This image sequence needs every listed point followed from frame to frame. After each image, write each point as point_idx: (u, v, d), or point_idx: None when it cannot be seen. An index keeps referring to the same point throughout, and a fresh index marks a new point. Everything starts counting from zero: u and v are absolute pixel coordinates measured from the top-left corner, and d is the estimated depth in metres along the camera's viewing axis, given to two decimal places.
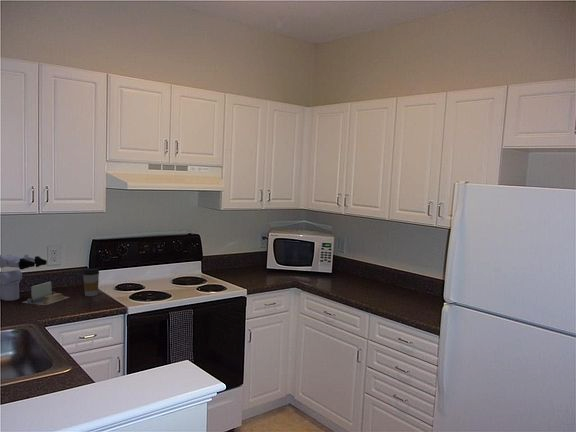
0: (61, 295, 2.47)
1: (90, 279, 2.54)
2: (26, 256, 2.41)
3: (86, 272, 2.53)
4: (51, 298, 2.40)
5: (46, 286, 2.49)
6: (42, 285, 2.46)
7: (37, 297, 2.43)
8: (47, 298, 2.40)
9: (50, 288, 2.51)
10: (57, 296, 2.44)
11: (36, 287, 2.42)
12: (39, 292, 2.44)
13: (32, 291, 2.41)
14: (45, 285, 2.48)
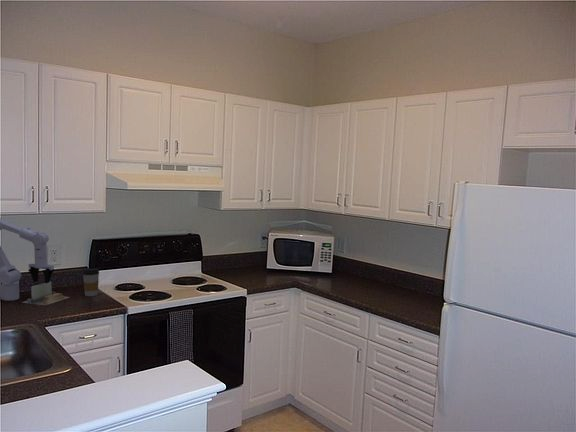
0: (61, 295, 2.47)
1: (90, 279, 2.54)
2: None
3: (86, 272, 2.53)
4: (51, 298, 2.40)
5: (46, 286, 2.49)
6: (42, 285, 2.46)
7: (37, 297, 2.43)
8: (47, 298, 2.40)
9: (50, 288, 2.51)
10: (57, 296, 2.44)
11: (36, 287, 2.42)
12: (39, 292, 2.44)
13: (32, 291, 2.41)
14: (45, 285, 2.48)
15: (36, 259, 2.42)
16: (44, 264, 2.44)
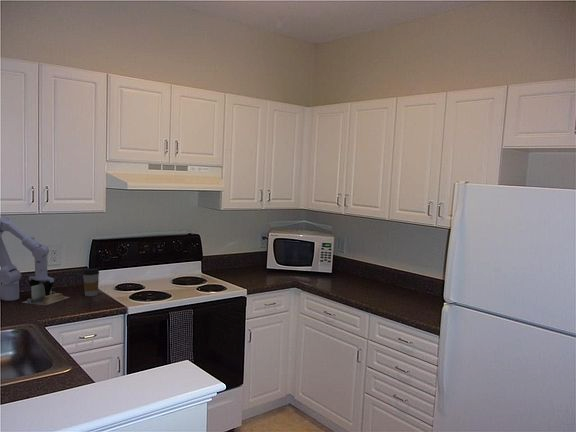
0: (61, 295, 2.47)
1: (90, 279, 2.54)
2: None
3: (86, 272, 2.53)
4: (51, 298, 2.40)
5: None
6: (42, 285, 2.46)
7: (37, 297, 2.43)
8: (47, 298, 2.40)
9: None
10: (57, 296, 2.44)
11: (36, 287, 2.42)
12: (39, 292, 2.44)
13: (32, 291, 2.41)
14: None
15: (36, 272, 2.43)
16: (44, 276, 2.44)
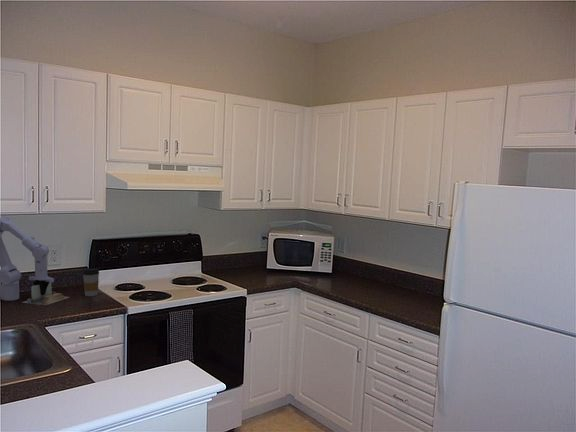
0: (61, 295, 2.47)
1: (90, 279, 2.54)
2: None
3: (86, 272, 2.53)
4: (51, 298, 2.40)
5: None
6: None
7: (37, 297, 2.43)
8: (47, 298, 2.40)
9: (50, 288, 2.51)
10: (57, 296, 2.44)
11: (36, 287, 2.42)
12: (39, 292, 2.44)
13: (32, 291, 2.41)
14: None
15: (36, 272, 2.43)
16: (44, 276, 2.44)
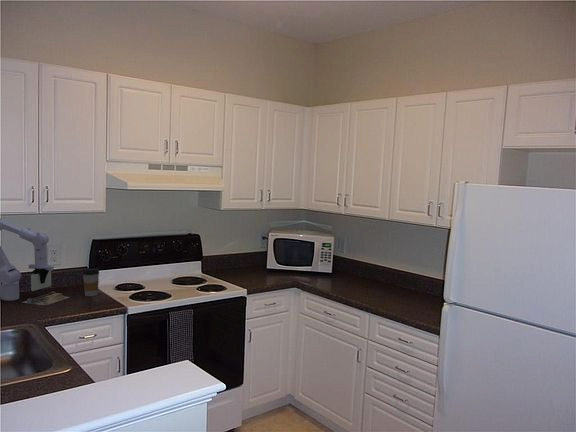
0: (61, 295, 2.47)
1: (90, 279, 2.54)
2: None
3: (86, 272, 2.53)
4: (51, 298, 2.40)
5: None
6: None
7: (37, 286, 2.43)
8: (47, 298, 2.40)
9: (50, 277, 2.51)
10: (57, 296, 2.44)
11: (36, 276, 2.42)
12: (38, 281, 2.44)
13: (32, 280, 2.40)
14: None
15: (36, 260, 2.42)
16: (44, 265, 2.44)
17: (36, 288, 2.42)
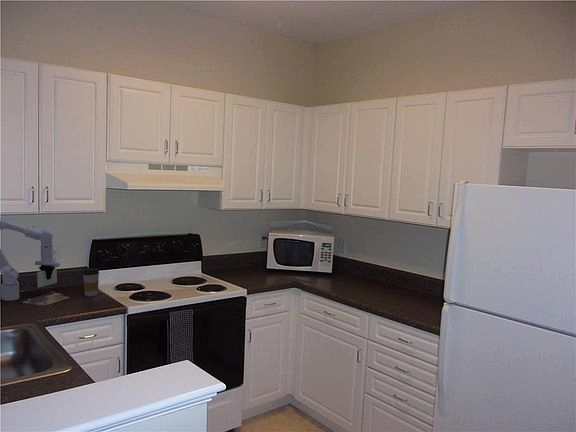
0: (61, 295, 2.47)
1: (90, 279, 2.54)
2: None
3: (86, 272, 2.53)
4: (51, 298, 2.40)
5: None
6: None
7: (43, 283, 2.49)
8: (47, 298, 2.40)
9: (55, 274, 2.57)
10: (57, 296, 2.44)
11: (42, 273, 2.48)
12: (44, 277, 2.50)
13: (38, 277, 2.46)
14: None
15: (42, 256, 2.49)
16: (50, 261, 2.50)
17: (42, 285, 2.49)
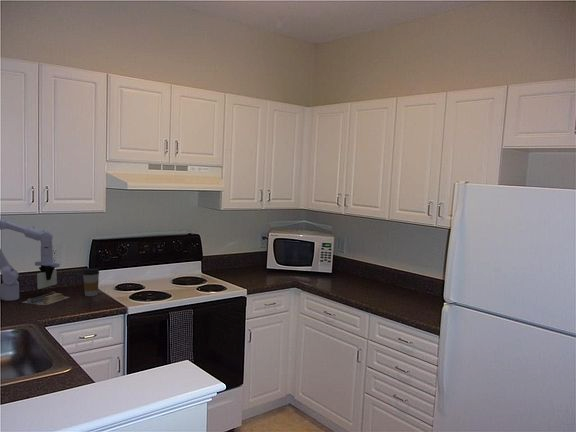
0: (61, 295, 2.47)
1: (90, 279, 2.54)
2: None
3: (86, 272, 2.53)
4: (51, 298, 2.40)
5: None
6: None
7: (43, 284, 2.49)
8: (47, 298, 2.40)
9: (55, 276, 2.57)
10: (57, 296, 2.44)
11: (42, 274, 2.48)
12: (44, 279, 2.50)
13: (38, 278, 2.46)
14: None
15: (42, 257, 2.49)
16: (50, 262, 2.50)
17: (42, 286, 2.49)
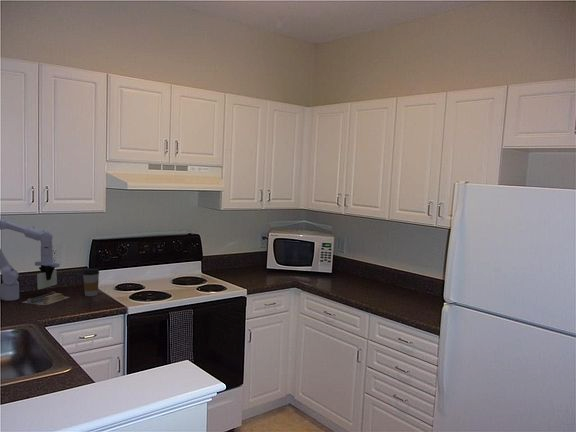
0: (61, 295, 2.47)
1: (90, 279, 2.54)
2: None
3: (86, 272, 2.53)
4: (51, 298, 2.40)
5: None
6: None
7: (43, 285, 2.49)
8: (47, 298, 2.40)
9: (55, 276, 2.57)
10: (57, 296, 2.44)
11: (42, 275, 2.48)
12: (44, 279, 2.50)
13: (38, 279, 2.46)
14: None
15: (42, 257, 2.49)
16: (50, 262, 2.50)
17: (42, 287, 2.49)
